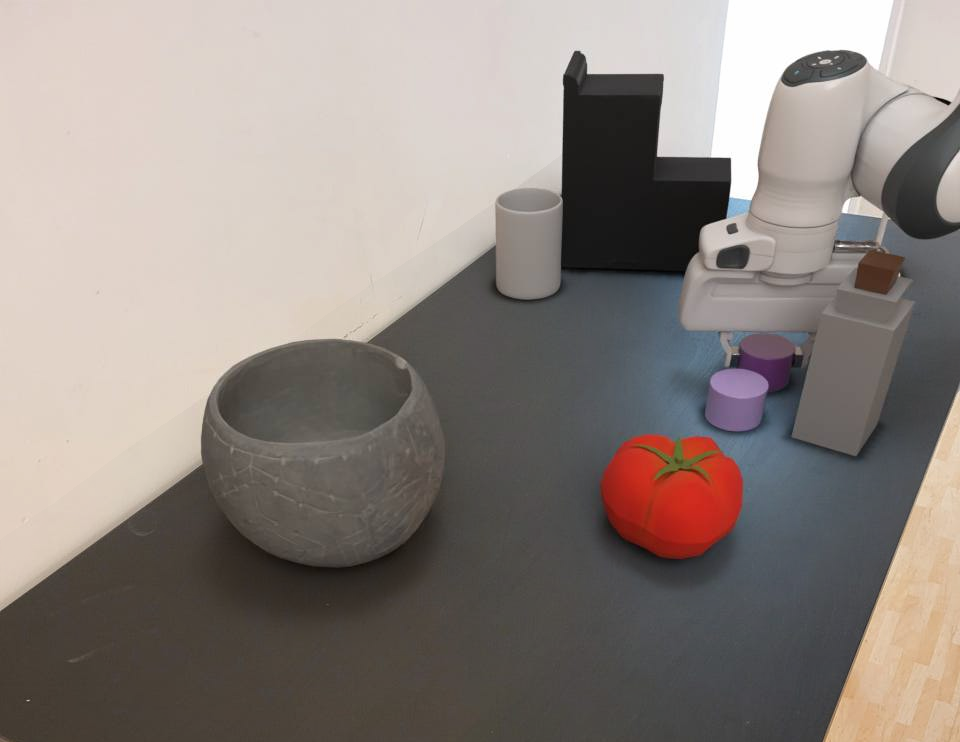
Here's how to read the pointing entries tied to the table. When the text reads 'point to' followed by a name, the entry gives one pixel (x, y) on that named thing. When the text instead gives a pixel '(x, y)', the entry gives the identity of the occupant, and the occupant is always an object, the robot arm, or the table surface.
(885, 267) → the perfume bottle
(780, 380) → the squat plum drum
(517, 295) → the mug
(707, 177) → the bookend
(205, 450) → the bowl
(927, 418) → the table surface
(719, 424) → the lilac cylinder
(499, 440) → the table surface
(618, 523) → the tomato
